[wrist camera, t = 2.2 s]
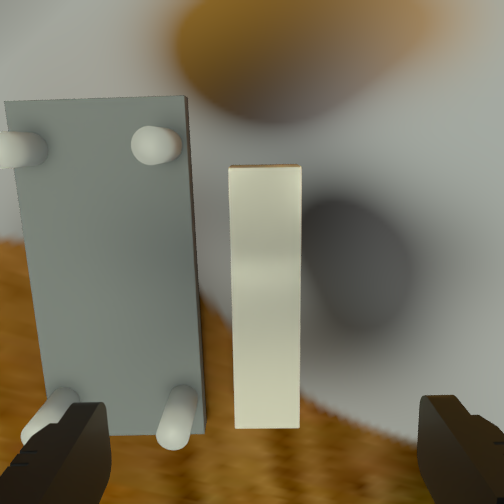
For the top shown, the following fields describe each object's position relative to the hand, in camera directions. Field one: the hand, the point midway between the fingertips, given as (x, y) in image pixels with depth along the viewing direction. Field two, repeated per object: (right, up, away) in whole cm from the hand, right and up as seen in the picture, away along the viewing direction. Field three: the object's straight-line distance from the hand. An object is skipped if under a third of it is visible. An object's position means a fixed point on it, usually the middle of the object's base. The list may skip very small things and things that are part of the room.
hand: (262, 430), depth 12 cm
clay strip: (0, +3, +11) cm, 11 cm away
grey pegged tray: (-7, +3, +11) cm, 13 cm away
